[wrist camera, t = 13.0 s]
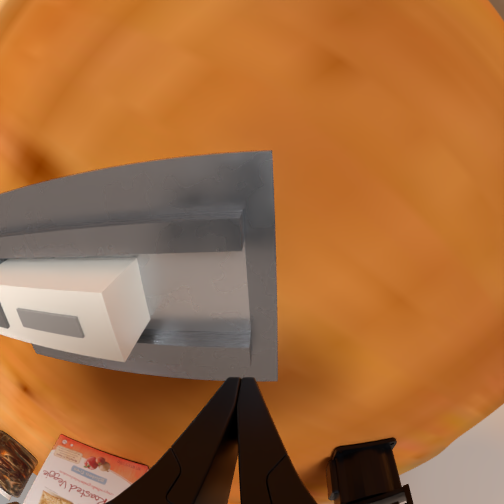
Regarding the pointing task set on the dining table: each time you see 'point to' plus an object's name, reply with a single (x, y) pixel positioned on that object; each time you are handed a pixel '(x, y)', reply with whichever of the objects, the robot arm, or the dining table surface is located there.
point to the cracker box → (81, 475)
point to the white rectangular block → (74, 304)
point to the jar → (14, 466)
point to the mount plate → (169, 255)
